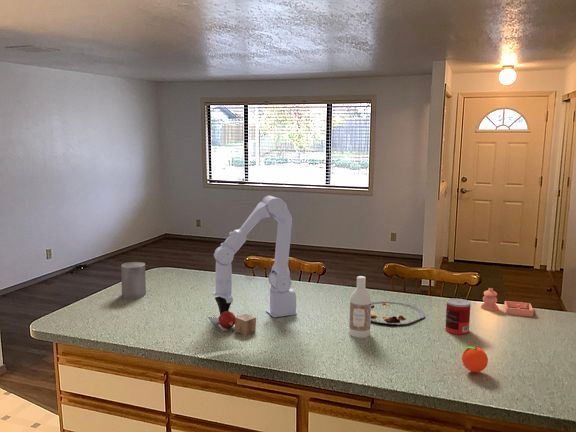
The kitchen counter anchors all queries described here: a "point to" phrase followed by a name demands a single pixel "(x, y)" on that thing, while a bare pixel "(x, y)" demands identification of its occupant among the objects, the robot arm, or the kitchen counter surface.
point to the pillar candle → (133, 280)
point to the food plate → (394, 319)
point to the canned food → (457, 316)
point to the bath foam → (360, 310)
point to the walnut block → (245, 324)
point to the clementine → (474, 359)
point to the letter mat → (218, 326)
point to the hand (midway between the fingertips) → (223, 316)
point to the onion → (227, 319)
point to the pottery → (491, 306)
